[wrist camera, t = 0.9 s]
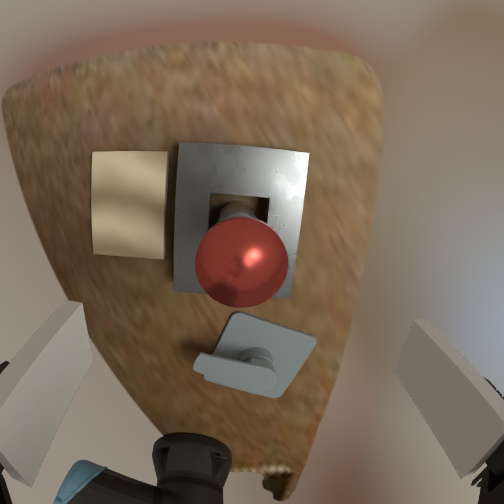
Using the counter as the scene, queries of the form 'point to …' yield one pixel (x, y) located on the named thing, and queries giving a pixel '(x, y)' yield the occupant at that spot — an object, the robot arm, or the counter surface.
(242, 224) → the red mushroom button
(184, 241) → the eye plate
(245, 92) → the counter surface
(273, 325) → the shower valve
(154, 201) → the birch pad
